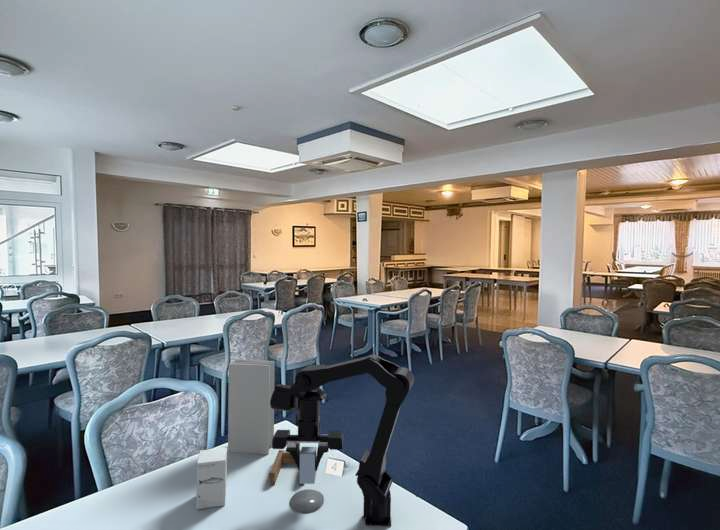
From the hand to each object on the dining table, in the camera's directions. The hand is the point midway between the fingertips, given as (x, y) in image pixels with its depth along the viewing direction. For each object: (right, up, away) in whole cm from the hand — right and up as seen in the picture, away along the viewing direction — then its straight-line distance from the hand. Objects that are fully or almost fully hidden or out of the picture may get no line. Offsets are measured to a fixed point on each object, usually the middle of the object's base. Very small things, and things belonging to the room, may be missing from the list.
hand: (308, 470), depth 106 cm
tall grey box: (-23, -8, +28) cm, 37 cm away
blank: (0, -3, 0) cm, 2 cm away
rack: (-7, -8, +14) cm, 18 cm away
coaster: (0, -9, 0) cm, 9 cm away
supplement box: (-26, -9, 0) cm, 28 cm away
